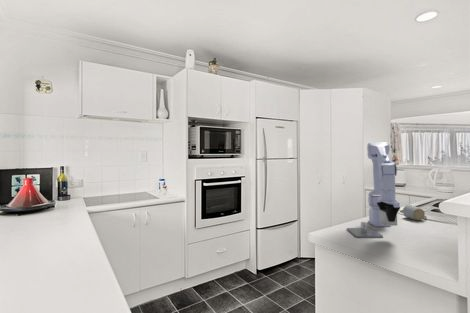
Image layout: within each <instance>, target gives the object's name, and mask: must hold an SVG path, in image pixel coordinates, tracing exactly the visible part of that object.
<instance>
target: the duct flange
mask: <svg viewBox="0 0 470 313" xmlns="http://www.w3.org/2000/svg"><path fill="white" fill-rule="evenodd" d="M346 231H348V232H349V233H350V234H352V236H354V237H355V238H356V239H359V238H361V239H363V238H364V239H366V238H367V239H369V238H377V239H378V238H379V239H380V238H384V235H383V234H381V233H380V232H378V231H376V230H375V229H373V227H368V222H366V221H360V227H346Z"/></svg>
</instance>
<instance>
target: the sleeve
mask: <svg viewBox="0 0 470 313" xmlns="http://www.w3.org/2000/svg"><path fill="white" fill-rule="evenodd" d="M380 223H382V224H383V225H385V226H384V227H393V226H394V227H396V226H398V214H397V215H396V218H395V221H394V222H389V220H388V213H387V210H380Z"/></svg>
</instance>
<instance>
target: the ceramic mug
mask: <svg viewBox="0 0 470 313" xmlns="http://www.w3.org/2000/svg"><path fill="white" fill-rule="evenodd" d="M402 214H403V216H404V217H405V218H407V219H411V220H413V221H421V220H423V219H424V220H426V219H427V217H428V216H426V214H425V211H424V209H422V208H420V207H418V206H415V205H412V204H406V205H404V207H403V208H402Z"/></svg>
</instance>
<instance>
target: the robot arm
mask: <svg viewBox="0 0 470 313" xmlns="http://www.w3.org/2000/svg"><path fill="white" fill-rule="evenodd" d="M366 149H367V157H368V159H369V160H371V162H372V173H373V174H372V175H373V176H372V177H373V178H372V179H373V189H372V190H371V191H369V193H368V196H367V197H368V200H367V203H368V206H369V211H368V220H367V223H369V224H371V225H372V226H374V227H386V226H385V225H383V224H382V223H380V210H387V213H388V220H389V222H394V221H395V218H396V215H397V216H398V212H399V210H400V209H401V205H400V204H401V203H400V202H398V201H397V199H396V176H397V175H398V174H397V173H398V168H397V167H398V166H397V164H396V162H393V161H392V159H391V156H390V155H389V153H390V151H391V150H390V143H389V142H388V141H386V142H368V143H367V148H366Z"/></svg>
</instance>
